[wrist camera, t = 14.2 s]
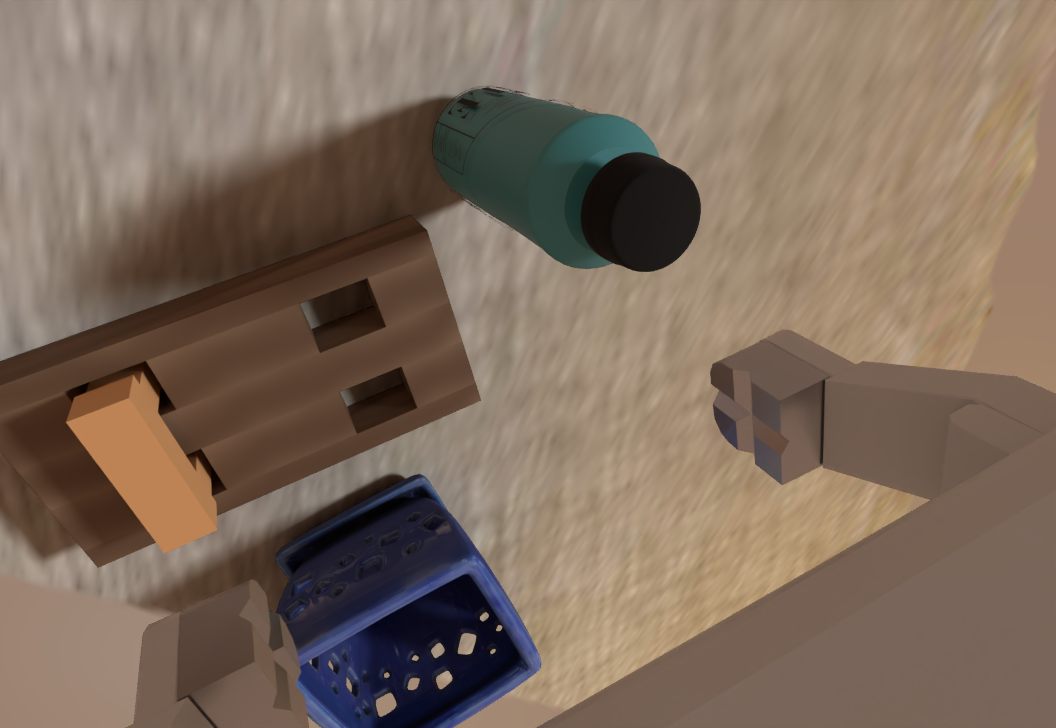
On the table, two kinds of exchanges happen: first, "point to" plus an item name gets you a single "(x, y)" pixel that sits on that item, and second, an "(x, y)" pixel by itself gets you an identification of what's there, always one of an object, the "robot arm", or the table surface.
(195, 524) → the tan two-pronged block
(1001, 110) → the table surface
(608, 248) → the beverage bottle
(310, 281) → the block with square holes
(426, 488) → the flower pot
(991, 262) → the table surface
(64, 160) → the table surface
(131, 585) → the table surface
